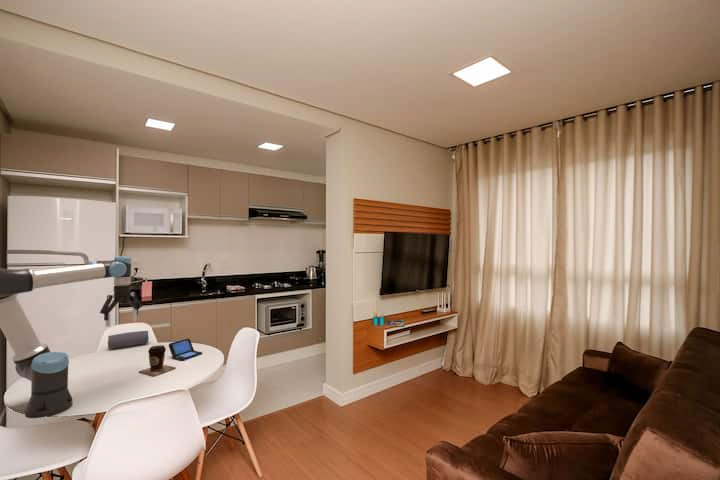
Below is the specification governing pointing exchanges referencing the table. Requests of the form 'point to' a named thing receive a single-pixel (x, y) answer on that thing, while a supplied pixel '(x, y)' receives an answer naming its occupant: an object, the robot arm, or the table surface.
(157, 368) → the coffee cup
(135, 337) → the bluetooth speaker
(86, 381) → the table surface
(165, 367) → the walnut board
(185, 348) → the handheld game console
